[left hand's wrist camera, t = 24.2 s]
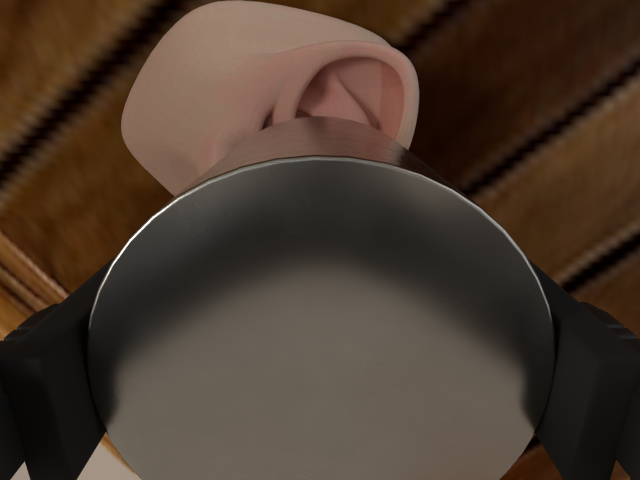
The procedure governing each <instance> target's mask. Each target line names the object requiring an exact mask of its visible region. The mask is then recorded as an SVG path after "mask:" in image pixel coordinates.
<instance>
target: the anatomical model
mask: <svg viewBox="0 0 640 480" xmlns="http://www.w3.org/2000/svg"><path fill="white" fill-rule="evenodd" d="M418 106H419V85H418V79H417V74H416V71H415V69H414V67H413V65H412V63H411V62H410V60H409V59H408V58H407V57H406V56H405V55H404V54H403V53H401V52H400V51H398V50H397V49H395V48H393V47H391V46H390V45H389V44H388V43H387V42H386V41H385V40H384V39H382V38H381V37H380V36H378V35H376V34H375V33H373V32H371V31H368V30H366V29H364V28H362V27H360V26H357V25H354V24H351V23H348V22H345V21H343V20H340V19H336V18H333V17H329V16H326V15H322V14H318V13H314V12H310V11H306V10H301V9H297V8H292V7H287V6H282V5H276V4H270V3H263V2H253V1H240V0H239V1H220V2H214V3H210V4H207V5H204V6H201V7H199V8H197V9H195V10H193V11H191V12H190V13H188V14H187V15H185V16H184V17H183V18H181V19H180V20H179V21H178V22H177V23H176V24H175V25H174V26H173V27H172V28H171V29H170V30H169V31H168V32H167V33H166V34H165V35H164V36H163V37H162V39H161V40H160V42H159V43H158V44H157V46H156V47H155V48H154V50H153V51H152V52H151V54H150V56H149V57H148V59H147V61H146V63H145V64H144V66H143V68H142V69H141V71H140V73H139V75H138V77H137V79H136V81H135V83H134V85H133V87H132V89H131V91H130V94H129V96H128V99H127V101H126V104H125V107H124V111H123V114H122V121H121V129H122V135H123V139H124V141H125V144H126V146H127V147H128V149H129V150H130V152H131V153H132V155H133V156H134V157H135V158H136V159H137V160H138V162H139V163H140V164H141V165H142V166H143V167H144V168H145V169H146V170H147V171H148V172H149V173H150V174H151V175H152V176H153V177H154V178H155V179H157V180H158V181H159V182H160V183H161V184H162V185H163V186H164V187H165V188H166V189H167V190H168V191H169V192H170V193H172V194H173V195H174V196H176V195H177V194H179V193H180V192H181V191H182V190H184V189H185V188H186V187H187V186H189V185H190V184H191V183H192V182H194V181H195V180H196V179H197V178H199V177H200V176H201V175H202V174H204V173H205V172H206V171H207V170H209V169H210V168H211V167H212V166H214V165H215V164H216V163H217V162H219V161H220V160H221V159H222V158H224V157H225V156H226V155H227V154H229V153H230V152H231V151H232V150H234V149H235V148H236V147H237V146H239V145H240V144H241V143H243V142H244V141H245V140H247V139H248V138H249V137H251V136H252V135H254V134H256V133H258V132H260V131H262V130H263V129H265V128H267V127H270V126H273V125H275V124H278V123H280V122H284V121H288V120H292V119H296V118H303V117H313V116H325V117H338V118H344V119H349V120H354V121H357V122H360V123H363V124H366V125H369V126H371V127H373V128H375V129H377V130H379V131H381V132H383V133H385V134H387V135H388V136H390V137H391V138H393V139H394V140H396V141H397V142H399V143H400V144H401V145H402V146H404V147H405V148H406V149H409V147H410V144H411V141H412V138H413V134H414V130H415V126H416V121H417V114H418Z"/></svg>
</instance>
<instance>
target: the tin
mask: <svg viewBox="0 0 640 480" xmlns="http://www.w3.org/2000/svg"><path fill="white" fill-rule="evenodd" d="M86 351H87V373H88V378H89V384H90V390H91V395H92V398H93V401H94V404H95V407H96V410H97V413H98V415H99V418H100V420H101V422H102V424H103V426H104V428H105V430H106V432H107V434H108V436H109V438H110V440H111V441H112V443H113V444H114V446H115V447H116V449H117V450H118V452H119V453H120V454H121V456H122V457H123V459H124V460H125V461H126V463H127V464H128V465H129V466H130V467H131V468H132V469H133V470H134V472H135V473H136V474H137V475H138V476H139V477H140V478H141V479H142V480H499V479H500V478H501V477H502V476H503V475H504V474H505V473H507V472H508V470H509V469H510V468H511V467H512V465H513V464H514V463H515V462H516V460H517V459H518V458H519V457H520V455H521V454H522V453H523V452H524V450H525V448H526V447H527V445H528V443H529V442H530V440H531V438H532V437H533V435H534V434H535V432H536V430H537V428H538V426H539V423H540V421H541V419H542V416H543V414H544V412H545V409H546V407H547V403H548V399H549V396H550V392H551V388H552V385H553V377H554V368H555V360H556V354H555V333H554V327H553V322H552V317H551V312H550V308H549V303H548V300H547V298H546V295H545V293H544V290H543V288H542V285H541V282H540V280H539V277H538V276H537V274H536V272H535V270H534V269H533V267H532V265H531V264H530V262H529V260H528V258H527V257H526V255H525V253H524V252H523V251H522V249H521V248H520V247H519V246H518V244H517V243H516V242H515V241H514V240H513V238H512V237H511V236H510V235H509V233H508V232H507V231H506V230H505V229H504V228H503V227H502V226H501V225H500V224H499V223H498V222H497V221H496V220H495V219H493V218H492V217H491V216H490V215H489V214H488V213H487V212H486V211H484V210H483V209H482V208H481V207H480V206H479V205H477V204H476V203H475V202H474V201H472V200H471V199H470V198H469V197H467V196H466V195H465V194H463V193H462V192H461V191H460V190H458V189H457V188H456V187H455V186H453V185H452V184H451V183H449V182H448V181H447V180H446V179H444V178H443V177H442V176H441V175H439V174H438V173H437V172H435V171H434V170H433V169H432V168H430V167H429V166H428V165H427V164H425V163H424V162H423V161H422V160H420V159H419V158H418V157H416V156H415V155H414V154H413V153H411V152H410V151H409V150H408V149H406V148H405V147H404V146H402V145H401V144H400V143H399V142H397V141H396V140H394V139H393V138H391V137H390V136H388V135H387V134H385V133H383V132H381V131H379V130H377V129H375V128H373V127H371V126H369V125H366V124H363V123H360V122H357V121H354V120H349V119H344V118H338V117H325V116H313V117H303V118H296V119H292V120H288V121H284V122H280V123H278V124H275V125H273V126H270V127H267V128H265V129H263V130H262V131H260V132H258V133H256V134H254V135H252V136H251V137H249V138H248V139H247V140H245V141H244V142H243V143H241V144H240V145H239V146H237V147H236V148H235V149H234V150H232V151H231V152H230V153H229V154H227V155H226V156H225V157H224V158H222V159H221V160H220V161H219V162H217V163H216V164H215V165H214V166H212V167H211V168H210V169H209V170H207V171H206V172H205V173H204V174H202V175H201V176H200V177H199V178H197V179H196V180H195V181H194V182H192V183H191V184H190V185H189V186H187V187H186V188H185V189H184V190H182V191H181V192H180V193H179V194H177V195H176V196H175V197H174V198H172V199H171V200H170V201H169V202H167V203H166V204H165V205H164V206H162V207H161V208H160V209H159V210H157V211H156V212H155V213H154V214H152V215H151V216H150V217H149V218H148V219H147V220H146V221H145V222H144V223H143V224H142V225H141V226H140V227H139V228H138V229H137V230H136V231H135V232H134V234H133V235H132V236H131V237H130V238H129V239H128V240H127V242H126V243H125V244H124V246H123V247H122V249H121V250H120V251H119V253H118V254H117V256H116V257H115V258H114V260H113V261H112V263H111V265H110V267H109V269H108V271H107V273H106V275H105V277H104V278H103V280H102V282H101V284H100V286H99V289H98V292H97V295H96V298H95V301H94V305H93V308H92V311H91V314H90V321H89V328H88V335H87V342H86Z"/></svg>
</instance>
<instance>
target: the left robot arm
mask: <svg viewBox="0 0 640 480" xmlns="http://www.w3.org/2000/svg"><path fill="white" fill-rule="evenodd" d="M116 256H117V255H116ZM116 256H115V257H116ZM115 257H114V258H115ZM114 258H113V259H112V260H110V261H109V262H108V263H107V264H106V265H105V266H103V267H102V268H101V269H100V270H99V271H98V272H96V273H95V274H94V275H93V276H92V277H91V278H89V279H88V280H87V281H86V282H85V283H84V284H82V285H81V286H80V287H79V288H78V289H77V290H75V291H74V292H73V293H72V294H71V295H70V296H68V297H67V298H66V299H65V300H64V301H63V302H61V303H60V304H53V305H51V306H49V307H47V308H45V309H43V310H41V311H39V312H37V313H35V314H33V315H32V316H30V317H29V318H28V319H27V320H26V321H24V322H23V323H22V324H21V325H19V326H18V327H17V330H13V331H12V332H11V333H10V334H8V335H7V336H6V337H5V338H4V341H0V480H10V479H11V478H12V477H13V475H14V474H15V473H16V472H17V470H18V469H19V468H20V466H21V465H22V464H23V463H24V461H25V463H26V466H27V470H28V473H29V476H30V479H31V480H77V478H78V476H79V475H80V473H81V471H82V470H83V468H84V467H85V465H86V463H87V462H88V460H89V458H90V457H91V455H92V454H93V452H94V450H95V449H96V447H97V445H98V444H99V442H100V440H101V439H102V437H103V436H104V434H105V432H106V430H105V428H104V426H103V424H102V422H101V420H100V418H99V415H98V413H97V410H96V407H95V404H94V401H93V398H92V395H91V390H90V384H89V378H88V373H87V351H86V342H87V335H88V328H89V321H90V314H91V311H92V308H93V305H94V301H95V298H96V295H97V292H98V289H99V286H100V284H101V282H102V280H103V278H104V277H105V275H106V273H107V271H108V269H109V267H110V265H111V263H112V261H113V260H114ZM528 260H529V259H528ZM529 262H530V264H531V265H532V267H533V269H534V270H535V272H536V274H537V276H538V277H539V280H540V282H541V285H542V288H543V290H544V293H545V295H546V298H547V300H548V303H549V308H550V312H551V317H552V322H553V327H554V333H555V354H556V360H555V368H554V377H553V385H552V388H551V392H550V396H549V399H548V403H547V407H546V409H545V412H544V414H543V416H542V419H541V421H540V423H539V426H538V428H537V430H536V432H535V433H536V435H537V437H538V438H539V440H540V442H541V443H542V445H543V447H544V448H545V450H546V451H547V453H548V455H549V456H550V458H551V460H552V461H553V463H554V465H555V466H556V468H557V469H558V471H559V473H560V474H561V476H562V478H563V479H564V480H610V478H611V474H612V471H613V468H614V464H615V461H616V460H617V461H618V462H619V464H620V465H621V466H622V467H623V469H624V470H625V471H626V473H627V474H628V475H629V476H630V478H631V479H630V480H640V339H637V336H636V335H635V334H633V333H632V332H631V331H630V330H628V329H627V328H624V326H623V325H622V324H621V323H620V322H618V321H617V320H616V319H615V318H613V317H612V316H611V315H610V314H609V313H607V312H605V311H603V310H601V309H599V308H597V307H595V306H593V305H591V304H589V303H587V302H578V301H577V300H575V299H574V298H573V297H572V296H571V295H570V294H568V293H567V292H566V291H565V290H564V289H563V288H561V287H560V286H559V285H558V284H557V283H556V282H554V281H553V280H552V279H551V278H550V277H549V276H547V275H546V274H545V273H544V272H543V271H542V270H540V269H539V268H538V267H537V266H536V265H535V264H533V263H532V262H531V261H530V260H529Z"/></svg>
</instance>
